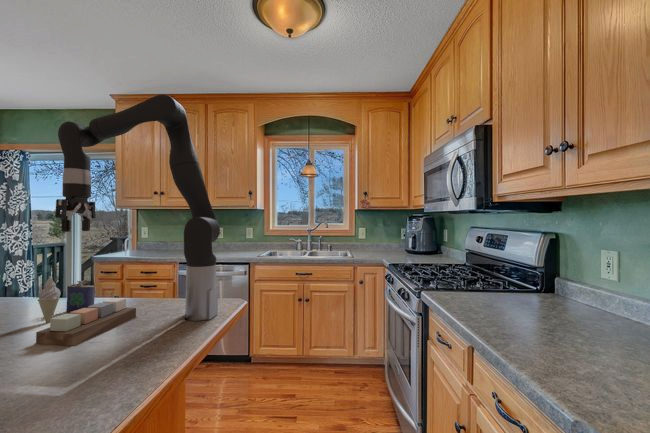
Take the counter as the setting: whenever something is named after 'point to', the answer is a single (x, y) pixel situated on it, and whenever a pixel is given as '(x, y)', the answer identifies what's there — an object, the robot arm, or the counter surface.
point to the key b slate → (103, 309)
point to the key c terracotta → (87, 314)
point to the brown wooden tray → (85, 329)
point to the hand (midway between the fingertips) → (76, 231)
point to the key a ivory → (117, 303)
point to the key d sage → (65, 322)
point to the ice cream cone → (49, 299)
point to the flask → (79, 296)
